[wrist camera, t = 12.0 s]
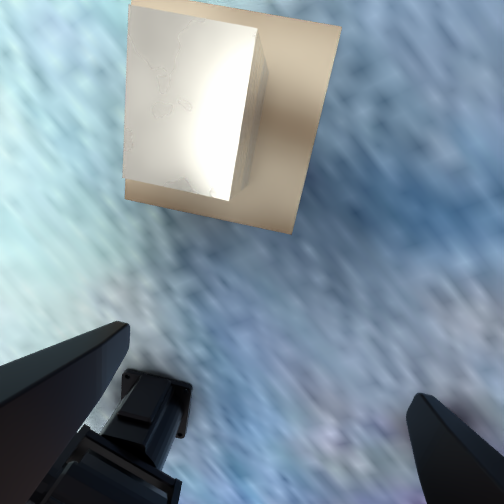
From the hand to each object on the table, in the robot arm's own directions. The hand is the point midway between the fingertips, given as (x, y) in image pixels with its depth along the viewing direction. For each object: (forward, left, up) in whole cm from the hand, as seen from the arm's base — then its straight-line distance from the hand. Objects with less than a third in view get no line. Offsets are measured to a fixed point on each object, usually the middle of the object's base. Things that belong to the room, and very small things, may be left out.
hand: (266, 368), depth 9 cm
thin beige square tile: (+7, +5, -13) cm, 16 cm away
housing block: (+7, +5, -10) cm, 14 cm away
